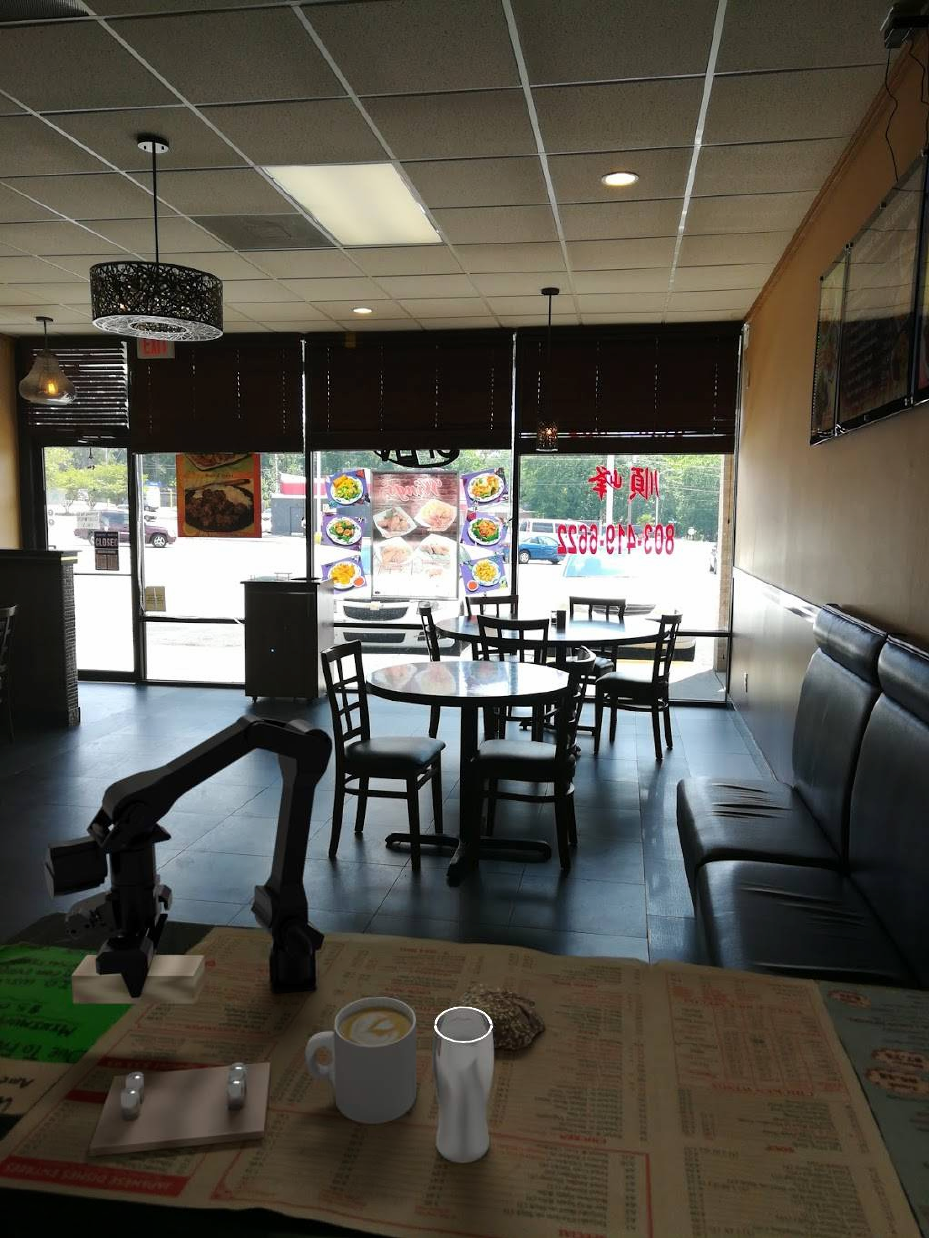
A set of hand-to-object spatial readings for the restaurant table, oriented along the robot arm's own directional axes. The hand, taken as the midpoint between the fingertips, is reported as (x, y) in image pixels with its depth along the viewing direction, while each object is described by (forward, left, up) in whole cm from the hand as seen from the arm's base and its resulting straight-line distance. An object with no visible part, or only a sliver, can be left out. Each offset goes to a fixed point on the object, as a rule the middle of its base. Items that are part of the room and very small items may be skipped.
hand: (140, 985), depth 120 cm
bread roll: (-48, +5, -8) cm, 49 cm away
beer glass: (-40, +26, -7) cm, 48 cm away
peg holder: (-8, +16, -7) cm, 19 cm away
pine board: (0, 0, -1) cm, 1 cm away
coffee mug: (-29, +16, -7) cm, 34 cm away
